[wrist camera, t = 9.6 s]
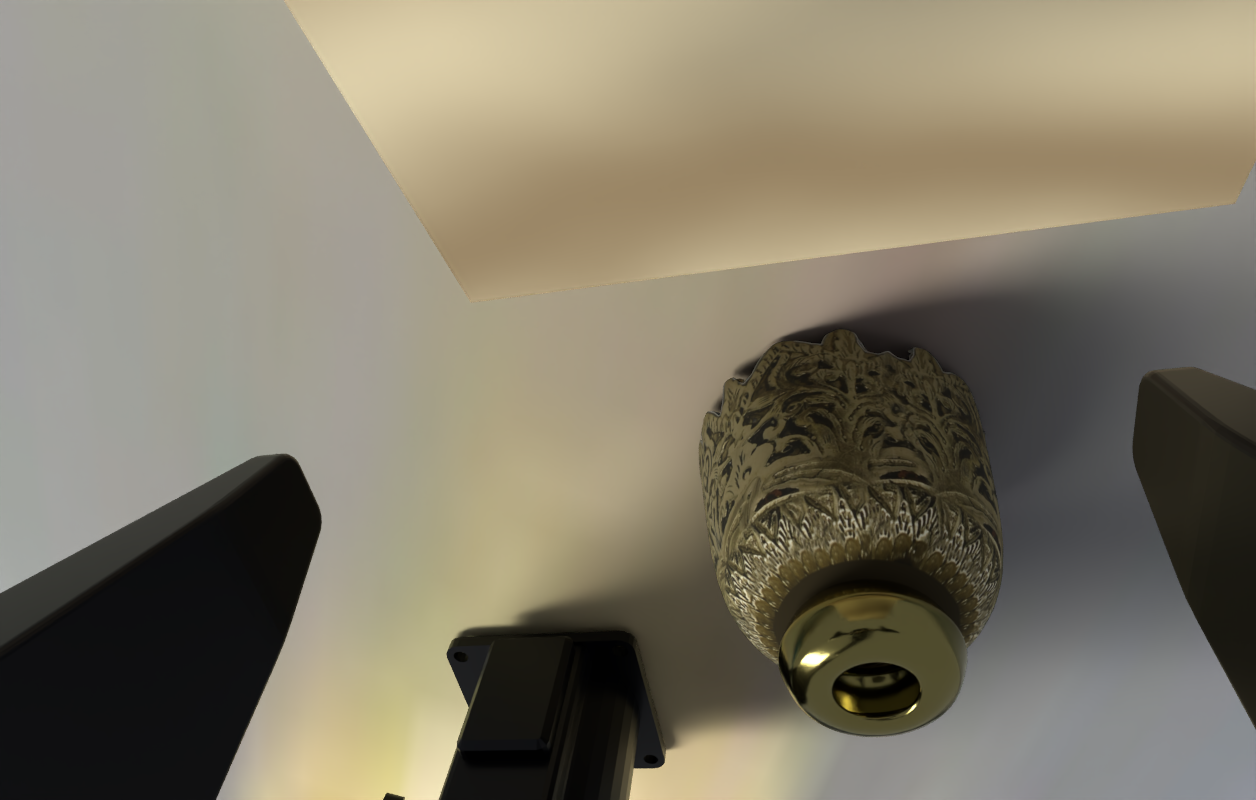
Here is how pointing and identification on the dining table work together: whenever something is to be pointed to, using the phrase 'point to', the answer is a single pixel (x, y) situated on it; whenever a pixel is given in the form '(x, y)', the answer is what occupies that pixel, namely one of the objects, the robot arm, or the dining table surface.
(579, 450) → the dining table surface
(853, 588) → the bronze domed piece
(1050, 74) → the trapdoor
